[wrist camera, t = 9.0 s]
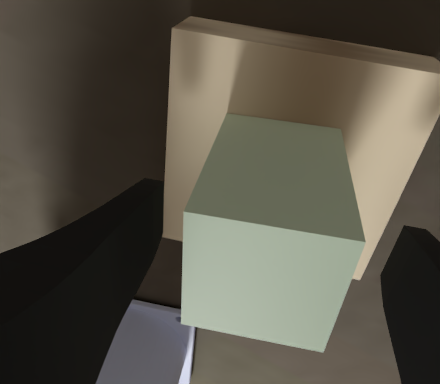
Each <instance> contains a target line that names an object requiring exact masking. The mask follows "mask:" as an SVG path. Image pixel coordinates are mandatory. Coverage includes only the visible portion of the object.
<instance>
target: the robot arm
mask: <svg viewBox="0 0 440 384" xmlns="http://www.w3.org/2000/svg"><path fill="white" fill-rule="evenodd" d="M163 215H164V182H163V181H157V180H152V179H146V178H145V179H143V180H141V181H140V182H138V183H137V184H135V185H134V186H132V187H130V188H129V189H127V190H126V191H124V192H123V193H121V194H120V195H118V196H117V197H115V198H113V199H112V200H110V201H109V202H107V203H106V204H104V205H102V206H101V207H99V208H97V209H96V210H94V211H92V212H90V213H89V214H87V215H85V216H83V217H81V218H80V219H78V220H76V221H74V222H73V223H71V224H69V225H67V226H65V227H63V228H61V229H59V230H57V231H55V232H52V233H50V234H48V235H46V236H44V237H41V238H39V239H37V240H34V241H32V242H30V243H27V244H24V245H22V246H19V247H16V248H14V249H11V250H8V251H5V252H3V253H0V384H190V381H191V372H192V361H193V351H194V340H195V329H196V327H194V326H189V325H184V324H181V310H180V309H176V308H171V307H166V306H162V305H157V304H152V303H148V302H143V301H139V300H134V299H133V298H134V296H135V294H136V292H137V290H138V288H139V286H140V284H141V283H142V281H143V279H144V277H145V275H146V273H147V271H148V269H149V267H150V265H151V263H152V261H153V259H154V257H155V254H156V251H157V249H158V246H159V243H160V240H161V238H162V235H163ZM380 276H381V289H382V299H383V307H384V312H385V316H386V321H387V325H388V329H389V333H390V337H391V342H392V346H393V350H394V354H395V358H396V362H397V366H398V370H399V374H400V378H401V383H402V384H440V242H439V241H438V240H437V239H436V238H435V237H434V236H433V235H432V234H431V233H430V232H428V231H427V230H426V229H421V228H416V227H410V226H405V225H404V227H403V229H402V231H401V233H400V235H399V237H398V239H397V241H396V244H395V246H394V248H393V250H392V252H391V254H390V256H389V258H388V260H387V262H386V265H385V267H384V269H383V271H382V273H381V275H380Z"/></svg>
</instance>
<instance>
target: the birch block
mask: <svg viewBox="0 0 440 384" xmlns="http://www.w3.org/2000/svg"><path fill="white" fill-rule="evenodd" d="M227 113H230V114H237V115H244V116H251V117H258V118H266V119H273V120H280V121H287V122H295V123H302V124H309V125H316V126H323V127H331V128H338V129H341V131H342V136H343V140H344V145H345V149H346V154H347V159H348V163H349V168H350V172H351V177H352V181H353V186H354V191H355V195H356V200H357V204H358V209H359V213H360V218H361V223H362V227H363V232H364V236H365V241H366V243H365V246H364V248H363V251H362V254H361V256H360V259H359V261H358V264H357V267H356V269H355V272H354V274H353V277H352V279H356V280H360V279H361V277H362V275H363V273H364V271H365V269H366V266H367V264H368V262H369V260H370V258H371V256H372V254H373V252H374V250H375V248H376V246H377V244H378V241H379V239H380V237H381V235H382V233H383V231H384V229H385V227H386V225H387V223H388V221H389V219H390V217H391V214H392V212H393V210H394V208H395V206H396V204H397V202H398V200H399V198H400V196H401V194H402V192H403V190H404V187H405V185H406V183H407V181H408V179H409V177H410V175H411V173H412V171H413V169H414V167H415V165H416V162H417V160H418V158H419V156H420V154H421V152H422V150H423V148H424V146H425V144H426V142H427V140H428V138H429V135H430V133H431V131H432V129H433V127H434V125H435V123H436V121H437V119H438V117H439V115H440V62H439V61H438V60H437V59H436V58H434V57H431V56H425V55H419V54H413V53H407V52H402V51H396V50H390V49H384V48H378V47H372V46H366V45H360V44H354V43H348V42H342V41H336V40H330V39H324V38H318V37H312V36H306V35H300V34H294V33H289V32H283V31H277V30H271V29H265V28H259V27H253V26H247V25H241V24H235V23H229V22H223V21H217V20H211V19H205V18H199V17H193V16H190V17H188V18H187V19H185V20H184V21H182V22H180V23H179V24H177V25H176V26H174V27H173V28H172V33H171V55H170V76H169V97H168V118H167V140H166V161H165V182H164V215H163V235H162V237H164V238H169V239H173V240H178V241H183V216H184V210H185V207H186V205H187V203H188V200H189V198H190V196H191V194H192V191H193V189H194V187H195V184H196V182H197V180H198V178H199V175H200V173H201V171H202V168H203V166H204V164H205V162H206V159H207V157H208V155H209V152H210V150H211V148H212V146H213V143H214V141H215V139H216V136H217V134H218V132H219V130H220V127H221V125H222V123H223V120H224V118H225V116H226V114H227Z"/></svg>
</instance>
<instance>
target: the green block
mask: <svg viewBox="0 0 440 384" xmlns="http://www.w3.org/2000/svg"><path fill="white" fill-rule="evenodd" d="M365 243H366V241H365V236H364V232H363V227H362V223H361V218H360V213H359V209H358V204H357V200H356V195H355V191H354V186H353V181H352V177H351V172H350V168H349V163H348V159H347V154H346V149H345V145H344V140H343V136H342V131H341V129H338V128H331V127H323V126H316V125H309V124H302V123H295V122H287V121H280V120H273V119H266V118H258V117H251V116H244V115H237V114H230V113H227V114H226V116H225V118H224V120H223V123H222V125H221V127H220V130H219V132H218V134H217V136H216V139H215V141H214V143H213V146H212V148H211V150H210V152H209V155H208V157H207V159H206V162H205V164H204V166H203V168H202V171H201V173H200V175H199V178H198V180H197V182H196V184H195V187H194V189H193V191H192V194H191V196H190V198H189V200H188V203H187V205H186V207H185V210H184V216H183V258H182V299H181V324H184V325H189V326H194V327H199V328H204V329H208V330H213V331H218V332H223V333H228V334H233V335H238V336H243V337H248V338H253V339H258V340H263V341H268V342H273V343H278V344H283V345H288V346H293V347H298V348H303V349H308V350H313V351H318V352H324V350H325V347H326V344H327V342H328V339H329V337H330V334H331V331H332V329H333V326H334V324H335V321H336V319H337V316H338V313H339V311H340V308H341V306H342V303H343V300H344V298H345V295H346V293H347V290H348V287H349V285H350V282H351V280H352V277H353V274H354V272H355V269H356V267H357V264H358V261H359V259H360V256H361V254H362V251H363V248H364V246H365Z"/></svg>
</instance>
